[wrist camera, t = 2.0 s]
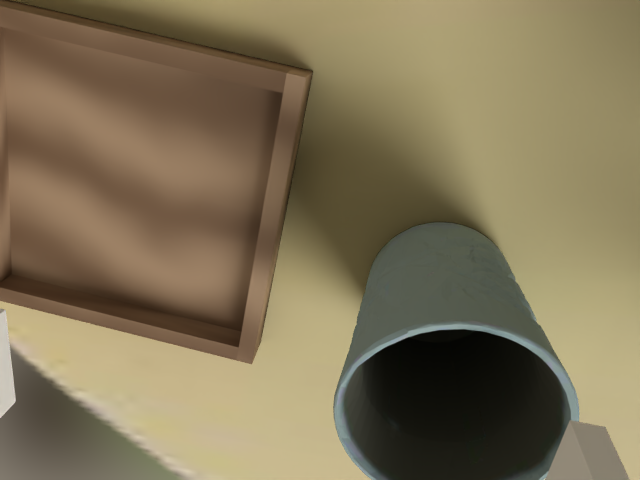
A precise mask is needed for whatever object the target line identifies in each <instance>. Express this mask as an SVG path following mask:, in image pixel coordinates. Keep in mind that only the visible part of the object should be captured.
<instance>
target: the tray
mask: <svg viewBox="0 0 640 480" xmlns="http://www.w3.org/2000/svg"><path fill="white" fill-rule="evenodd" d="M312 75H313V71H310V70H306V69H302V68H297V67H293V66H289V65H285V64H280V63H276V62H272V61H267V60H263V59H259V58H255V57H250V56H246V55H242V54H237V53H233V52H229V51H224V50H220V49H216V48H212V47H207V46H203V45H199V44H194V43H190V42H186V41H182V40H177V39H173V38H169V37H164V36H160V35H156V34H152V33H147V32H143V31H139V30H134V29H130V28H126V27H121V26H117V25H113V24H109V23H104V22H100V21H96V20H91V19H87V18H83V17H79V16H74V15H70V14H66V13H61V12H57V11H53V10H49V9H44V8H40V7H36V6H31V5H27V4H23V3H18V2H14V1H10V0H0V301H3V302H7V303H11V304H15V305H19V306H23V307H27V308H31V309H35V310H39V311H43V312H47V313H51V314H55V315H59V316H63V317H67V318H71V319H75V320H79V321H83V322H87V323H91V324H95V325H99V326H102V327H106V328H110V329H114V330H118V331H122V332H126V333H130V334H134V335H138V336H142V337H146V338H150V339H154V340H158V341H162V342H166V343H170V344H174V345H178V346H182V347H186V348H190V349H194V350H198V351H202V352H206V353H210V354H213V355H217V356H221V357H225V358H229V359H233V360H237V361H241V362H245V363H249V364H252V362H253V360H254V357H255V355H256V352H257V350H258V347H259V345H260V342H261V338H262V333H263V327H264V322H265V317H266V312H267V307H268V302H269V297H270V291H271V286H272V281H273V276H274V271H275V266H276V260H277V255H278V250H279V245H280V240H281V235H282V229H283V224H284V219H285V214H286V209H287V204H288V198H289V193H290V188H291V183H292V178H293V173H294V167H295V162H296V157H297V152H298V147H299V142H300V137H301V131H302V126H303V121H304V116H305V111H306V106H307V100H308V95H309V90H310V85H311V80H312Z"/></svg>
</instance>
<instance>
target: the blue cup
mask: <svg viewBox="0 0 640 480" xmlns="http://www.w3.org/2000/svg"><path fill="white" fill-rule="evenodd" d="M333 408H334V420H335V425H336V430H337V433H338V437H339V439H340V441H341V443H342V445H343V447H344V449H345V451H346V453H347V454H348V455H349V457H350V458H351V460H352V461H353V462H354V463H355V464H356V465H357V466H358V467H359V468H360V470H361V471H362V472H363V473H364V474H365V475H367V476H368V477H369V478H371V479H372V480H544V479H545V478H546V476H547V474H548V472H549V469H550V467H551V464H552V462H553V460H554V457H555V455H556V452H557V450H558V448H559V445H560V443H561V440H562V438H563V436H564V433H565V431H566V428H567V426H568V424H569V421H570V420H572V421H577V422H579V405H578V398H577V395H576V391H575V388H574V386H573V384H572V382H571V380H570V378H569V376H568V374H567V372H566V370H565V369H564V367H563V365H562V364H561V362H560V360H559V359H558V357H557V355H556V353H555V352H554V350H553V348H552V346H551V344H550V342H549V340H548V339H547V337H546V335H545V333H544V331H543V329H542V328H541V326H540V325H538V323H537V322H536V318H535V315H534V313H533V311H532V309H531V307H530V305H529V303H528V302H527V300H526V299H525V296H524V294H523V293H522V291H521V289H520V287H519V285H518V283H516V281H515V277H514V275H513V273H512V271H511V269H510V267H509V265H508V263H507V261H506V259H505V258H504V256H503V254H502V253H501V251H500V250H499V249H498V247H497V246H496V245H495V244H494V243H493V242H492V241H491V240H489V239H488V238H487V237H485V236H484V235H482V234H481V233H479V232H477V231H476V230H474V229H472V228H469V227H466V226H463V225H460V224H455V223H446V222H434V223H427V224H422V225H418V226H414V227H412V228H410V229H408V230H406V231H404V232H402V233H400V234H399V235H397V236H395V237H394V238H393V239H391V240H390V241H389V242H388V243H387V244H386V245H385V246H384V247H383V248H382V249H381V251H380V252H379V253H378V255H377V256H376V258H375V260H374V262H373V264H372V267H371V270H370V273H369V277H368V281H367V284H366V292H365V294H364V295H363V300H362V303H361V307H360V311H359V314H358V317H357V325H356V327H355V330H354V333H353V338H352V343H351V345H350V350H349V352H348V355H347V358H346V361H345V364H344V367H343V370H342V373H341V376H340V379H339V382H338V385H337V389H336V392H335V396H334V406H333Z"/></svg>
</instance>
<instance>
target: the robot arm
mask: <svg viewBox="0 0 640 480" xmlns="http://www.w3.org/2000/svg"><path fill="white" fill-rule="evenodd" d="M15 402H16V399H15V391H14V383H13V372H12V363H11V355H10V345H9V336H8V327H7V318H6V310H4V309H0V418H1V417H2V415H4V413H5V412H6V411H7V410H8V409H9V408H10V407H11V406H12V405H13V404H14V403H15ZM545 480H630V479H629V477H628V475H627V473H626V471H625V469H624V466H623V464H622V462H621V460H620V458H619V456H618V454H617V451H616V449H615V447H614V445H613V443H612V441H611V438H610V436H609V434H608V432H607V430H606V428H605V427H603V426H598V425H592V424H587V423H582V422H577V421H572V420H570V421H569V424H568V426H567V428H566V431H565V433H564V436H563V438H562V440H561V443H560V445H559V448H558V450H557V452H556V455H555V457H554V460H553V462H552V464H551V467H550V469H549V472H548V474H547V476H546V479H545Z"/></svg>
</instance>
